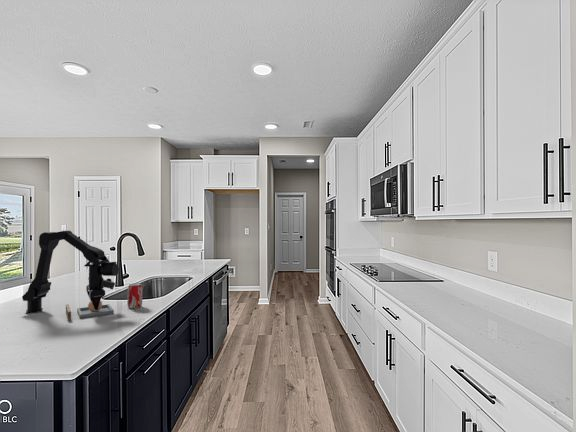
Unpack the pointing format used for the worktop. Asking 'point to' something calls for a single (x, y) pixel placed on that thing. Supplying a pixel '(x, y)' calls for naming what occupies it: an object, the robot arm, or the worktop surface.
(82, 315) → the dish
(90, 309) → the ball
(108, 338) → the worktop surface
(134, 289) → the soda can
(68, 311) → the fence
